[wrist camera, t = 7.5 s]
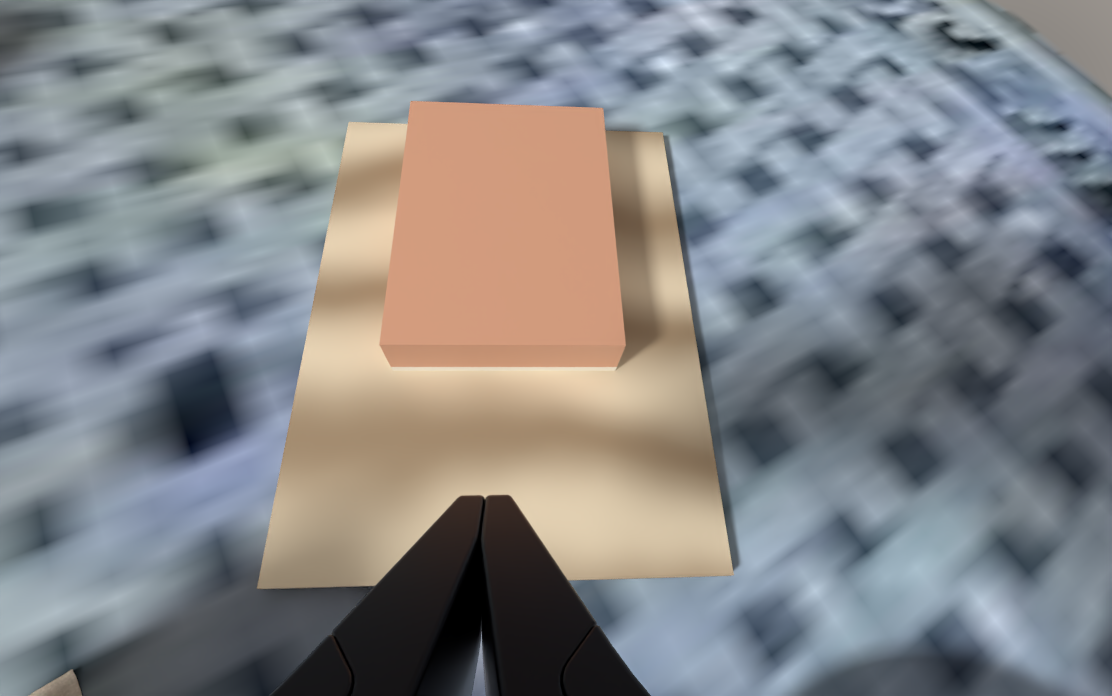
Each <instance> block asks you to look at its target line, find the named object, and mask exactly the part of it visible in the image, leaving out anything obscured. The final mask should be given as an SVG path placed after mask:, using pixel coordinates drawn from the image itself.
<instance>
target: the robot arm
mask: <svg viewBox="0 0 1112 696" xmlns="http://www.w3.org/2000/svg"><path fill="white" fill-rule="evenodd" d="M481 631H482V650H483V666H484V680H485V693H486V696H651V695H650V694H649V693H648V692H647V690H646V689H645V688H644V687H643V686H642V684H641V683H640V682H639V681H638V680H637V678H636V677H635V676H634V675H633V673H632V672H631V671H630V669H629V668H628V667H627V665H626V664H625V662H624V661H623V660H622V658H621V657H620V656H619V654H618V653H617V651H616V650H615V649H614V647H613V646H612V644H611V643H610V641H609V640H608V638H607V637H606V635H605V634H604V632H603V631H602V629H601V628H600V627H599V626H597V623H596V621H595V620H594V618H593V617H592V615H591V614H590V612H589V611H588V609H587V608H586V606H585V605H584V603H583V602H582V600H581V599H580V597H579V596H578V594H577V593H576V591H575V590H574V588H573V587H572V585H571V584H570V582H569V581H568V579H567V578H566V576H565V575H564V574H563V572H562V571H561V569H560V568H559V566H558V565H557V563H556V562H555V560H554V559H553V557H552V556H551V554H550V553H549V551H548V550H547V548H546V547H545V545H544V544H543V542H542V541H541V539H540V538H539V536H538V535H537V533H536V532H535V530H534V529H533V528H532V526H531V525H530V523H529V522H528V520H527V519H526V517H525V516H524V514H523V513H522V511H521V510H520V508H519V507H518V505H517V504H516V502H515V501H514V499H513V498H512V497H511V496H510V495H488V496H487V497H486V498H484V496H482V495H462V496H459V497H458V498H457V499H456V500H455V501H454V502H453V503H452V504H451V505H450V506H449V507H448V509H447V510H446V511H445V512H444V513H443V514H442V515H441V516H440V517H439V518H438V519H437V520H436V521H435V522H434V523H433V525H432V526H431V527H430V528H429V529H428V530H427V531H426V532H425V533H424V534H423V535H422V536H421V537H420V538H419V539H418V541H417V542H416V543H415V544H414V545H413V546H412V547H411V548H410V549H409V550H408V551H407V552H406V553H405V554H404V555H403V556H402V558H401V559H400V560H399V561H398V562H397V563H396V564H395V565H394V566H393V567H392V568H391V569H390V570H389V571H388V572H387V574H386V575H385V576H384V577H383V578H382V579H381V580H380V581H379V582H378V583H377V584H376V585H375V586H374V587H373V588H372V590H371V591H370V592H369V593H368V594H367V595H366V596H365V597H364V598H363V599H362V600H361V601H360V602H359V603H358V604H357V605H356V607H355V608H354V609H353V610H352V611H351V612H350V613H349V614H348V615H347V616H346V617H345V618H344V619H343V620H342V621H341V623H340V624H339V625H338V626H337V627H336V628H335V629H334V630H333V632H332V635H328V636H327V637H326V638H325V639H324V640H323V641H322V642H321V643H320V645H319V646H318V647H317V648H316V649H315V650H314V651H313V652H312V653H311V654H310V655H309V656H308V657H307V658H306V659H305V660H304V661H303V662H302V663H301V664H300V665H299V666H298V667H297V668H296V669H295V670H294V671H293V672H292V673H291V674H290V675H289V676H288V677H287V678H286V680H285V681H284V682H283V683H282V684H281V685H280V686H279V687H278V688H277V689H275V690H274V691H273V692H272V693H271V694H270V695H269V696H472V690H473V685H474V679H475V673H476V667H477V662H478V656H479V649H480V642H481Z"/></svg>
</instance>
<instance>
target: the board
mask: <svg viewBox="0 0 1112 696" xmlns="http://www.w3.org/2000/svg"><path fill="white" fill-rule="evenodd" d="M407 126H408V124H390V123H360V122H349V124H348V129H347V134H346V139H345V144H344V149H343V154H342V159H341V164H340V169H339V174H338V179H337V184H336V190H335V195H334V200H333V205H332V210H331V215H330V220H329V225H328V230H327V235H326V240H325V245H324V250H323V256H322V261H321V266H320V271H319V276H318V281H317V286H316V291H315V296H314V301H313V306H312V311H311V316H310V321H309V327H308V332H307V337H306V342H305V347H304V352H303V357H302V362H301V367H300V372H299V377H298V382H297V387H296V393H295V398H294V403H293V408H292V413H291V418H290V423H289V428H288V433H287V438H286V443H285V448H284V453H283V459H282V464H281V469H280V474H279V479H278V484H277V489H276V494H275V499H274V504H273V509H272V514H271V519H270V525H269V530H268V535H267V540H266V545H265V550H264V555H263V560H262V565H261V570H260V575H259V580H258V585H257V589H290V588H324V587H359V586H375V585H376V584H377V583H378V582H379V581H380V580H381V579H382V578H383V577H384V576H385V575H386V574H387V572H388V571H389V570H390V569H391V568H392V567H393V566H394V565H395V564H396V563H397V562H398V561H399V560H400V559H401V558H402V556H403V555H404V554H405V553H406V552H407V551H408V550H409V549H410V548H411V547H412V546H413V545H414V544H415V543H416V542H417V541H418V539H419V538H420V537H421V536H422V535H423V534H424V533H425V532H426V531H427V530H428V529H429V528H430V527H431V526H432V525H433V523H434V522H435V521H436V520H437V519H438V518H439V517H440V516H441V515H442V514H443V513H444V512H445V511H446V510H447V509H448V507H449V506H450V505H451V504H452V503H453V502H454V501H455V500H456V499H457V498H458V497H459V496H462V495H482V496H484V498H486V497H487V496H488V495H510V496H511V497H512V498H513V499H514V501H515V502H516V504H517V505H518V507H519V508H520V510H521V511H522V513H523V514H524V516H525V517H526V519H527V520H528V522H529V523H530V525H531V526H532V528H533V529H534V530H535V532H536V533H537V535H538V536H539V538H540V539H541V541H542V542H543V544H544V545H545V547H546V548H547V550H548V551H549V553H550V554H551V556H552V557H553V559H554V560H555V562H556V563H557V565H558V566H559V568H560V569H561V571H562V572H563V574H564V575H565V576H566V578H567V579H568V580H603V579H638V578H673V577H708V576H731V575H734V574H733V568H732V562H731V555H730V549H729V543H728V537H727V530H726V524H725V518H724V512H723V506H722V499H721V493H720V487H719V481H718V475H717V468H716V462H715V456H714V450H713V443H712V437H711V431H710V425H709V419H708V412H707V406H706V400H705V394H704V387H703V381H702V375H701V369H700V363H699V356H698V350H697V344H696V338H695V332H694V325H693V319H692V313H691V307H690V300H689V294H688V288H687V282H686V276H685V269H684V263H683V257H682V251H681V245H680V238H679V232H678V226H677V220H676V213H675V207H674V201H673V195H672V189H671V182H670V176H669V170H668V164H667V158H666V151H665V145H664V139H663V133H661V132H631V131H605V134H606V144H607V155H608V165H609V176H610V186H611V196H612V207H613V217H614V228H615V238H616V248H617V259H618V269H619V280H620V290H621V300H622V311H623V321H624V332H625V342H626V346H625V349H624V351H623V354H622V356H621V358H620V361H619V363H618V366H617V368H616V370H615V371H393V370H392V368H391V366H390V364H389V362H388V361H387V359H386V357H385V355H384V353H383V351H382V349H381V347H380V345H379V343H380V335H381V327H382V320H383V312H384V304H385V296H386V289H387V281H388V273H389V265H390V258H391V250H392V242H393V234H394V227H395V219H396V211H397V203H398V196H399V188H400V180H401V172H402V165H403V157H404V149H405V141H406V134H407Z"/></svg>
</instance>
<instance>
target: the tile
mask: <svg viewBox="0 0 1112 696" xmlns="http://www.w3.org/2000/svg"><path fill="white" fill-rule="evenodd" d="M379 345H380V347H381V349H382V351H383V353H384V355H385V357H386V359H387V361H388V362H389V364H390V366H391V368H392V370H393V371H615V370H616V368H617V366H618V363H619V361H620V358H621V356H622V354H623V351H624V349H625V346H626V342H625V332H624V321H623V311H622V300H621V290H620V280H619V269H618V259H617V248H616V238H615V228H614V217H613V207H612V196H611V186H610V176H609V165H608V155H607V144H606V134H605V124H604V113H603V108H587V107H559V106H532V105H504V104H477V103H450V102H422V101H411V103H410V110H409V118H408V126H407V134H406V141H405V149H404V157H403V165H402V172H401V180H400V188H399V196H398V203H397V211H396V219H395V227H394V234H393V242H392V250H391V258H390V265H389V273H388V281H387V289H386V296H385V304H384V312H383V320H382V327H381V335H380V343H379Z"/></svg>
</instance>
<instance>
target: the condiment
mask: <svg viewBox="0 0 1112 696" xmlns="http://www.w3.org/2000/svg"><path fill="white" fill-rule="evenodd" d="M29 696H82V694H81V689H80V687H79V684H78V680H77V678H76V676H75V674H74V672H73V669H72V670H70V671H69V672H67V673H65V674H64V675H62V676H61V677H59V678H57V679H55V680H54V681H52V682H50V683H49V684H47V685H45V686H44V687H42V688H40V689H38V690H37V691H35V692H33V693H32V694H31V695H29Z"/></svg>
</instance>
